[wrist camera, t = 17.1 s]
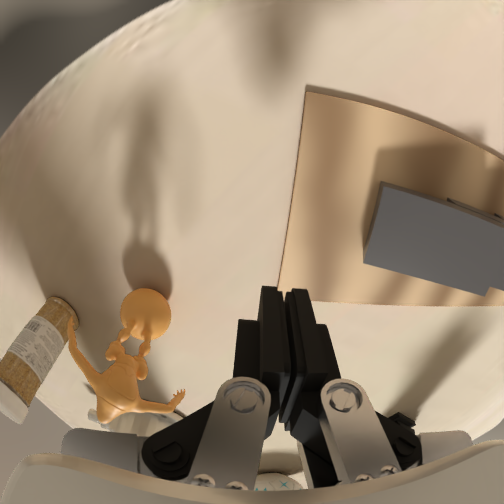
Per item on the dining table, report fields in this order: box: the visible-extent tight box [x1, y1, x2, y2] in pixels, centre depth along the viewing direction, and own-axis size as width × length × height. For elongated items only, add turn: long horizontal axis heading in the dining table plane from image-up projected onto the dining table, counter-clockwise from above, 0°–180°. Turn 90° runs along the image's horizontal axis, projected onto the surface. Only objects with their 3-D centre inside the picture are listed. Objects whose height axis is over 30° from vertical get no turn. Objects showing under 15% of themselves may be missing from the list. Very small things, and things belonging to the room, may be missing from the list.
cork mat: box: [277, 92, 504, 306], centre depth 17 cm, size 32×14×1 cm, turn 85°
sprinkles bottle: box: [0, 297, 79, 424], centre depth 17 cm, size 5×5×14 cm
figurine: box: [67, 288, 185, 424], centre depth 15 cm, size 8×6×12 cm
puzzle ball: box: [254, 473, 303, 491], centre depth 37 cm, size 15×15×15 cm
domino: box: [363, 181, 504, 297], centre depth 14 cm, size 2×5×10 cm
